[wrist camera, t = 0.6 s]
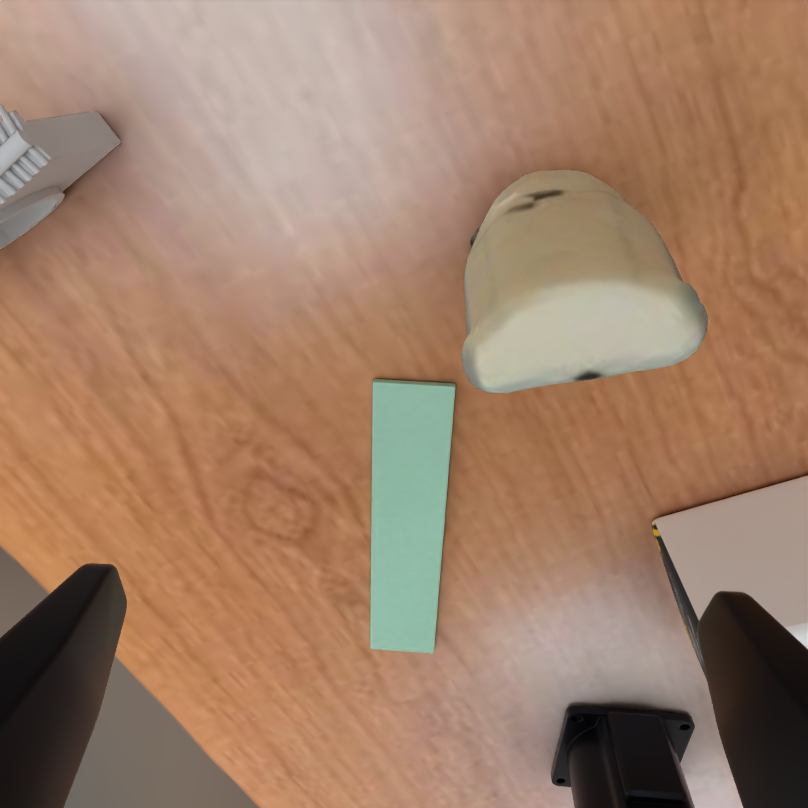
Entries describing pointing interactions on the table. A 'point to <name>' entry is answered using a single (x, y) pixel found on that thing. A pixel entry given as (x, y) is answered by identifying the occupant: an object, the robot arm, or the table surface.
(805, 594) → the security camera
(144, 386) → the table surface
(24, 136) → the garden wall model
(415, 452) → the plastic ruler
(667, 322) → the beige rounded chunk
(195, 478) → the table surface
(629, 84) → the table surface
